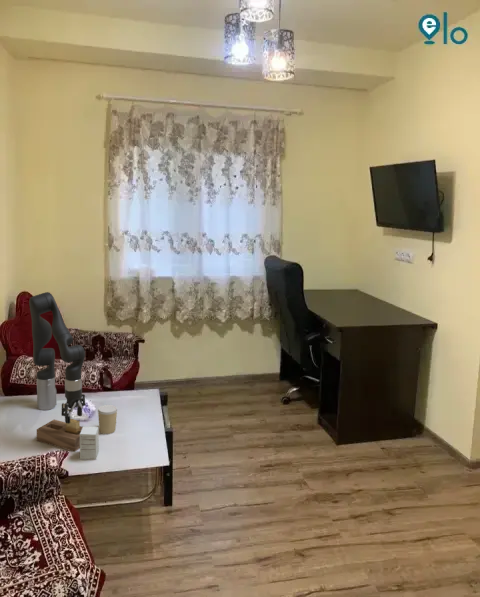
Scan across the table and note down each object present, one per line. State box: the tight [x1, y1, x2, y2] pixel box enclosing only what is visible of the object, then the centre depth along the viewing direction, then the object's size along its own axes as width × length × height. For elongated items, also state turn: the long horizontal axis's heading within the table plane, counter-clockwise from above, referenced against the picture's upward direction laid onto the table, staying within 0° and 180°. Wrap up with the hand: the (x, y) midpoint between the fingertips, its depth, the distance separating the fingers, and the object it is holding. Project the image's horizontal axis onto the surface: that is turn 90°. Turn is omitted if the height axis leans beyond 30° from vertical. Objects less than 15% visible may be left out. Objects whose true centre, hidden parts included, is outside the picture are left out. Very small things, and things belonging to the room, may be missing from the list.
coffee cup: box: [97, 404, 118, 435], centre depth 261 cm, size 9×9×12 cm
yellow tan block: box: [66, 418, 81, 435], centre depth 247 cm, size 2×6×10 cm, turn 70°
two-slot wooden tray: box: [36, 419, 84, 452], centre depth 249 cm, size 12×22×6 cm, turn 69°
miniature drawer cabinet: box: [79, 426, 100, 461], centre depth 237 cm, size 7×7×13 cm
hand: (73, 419), depth 246 cm, fingers open, 8 cm apart
